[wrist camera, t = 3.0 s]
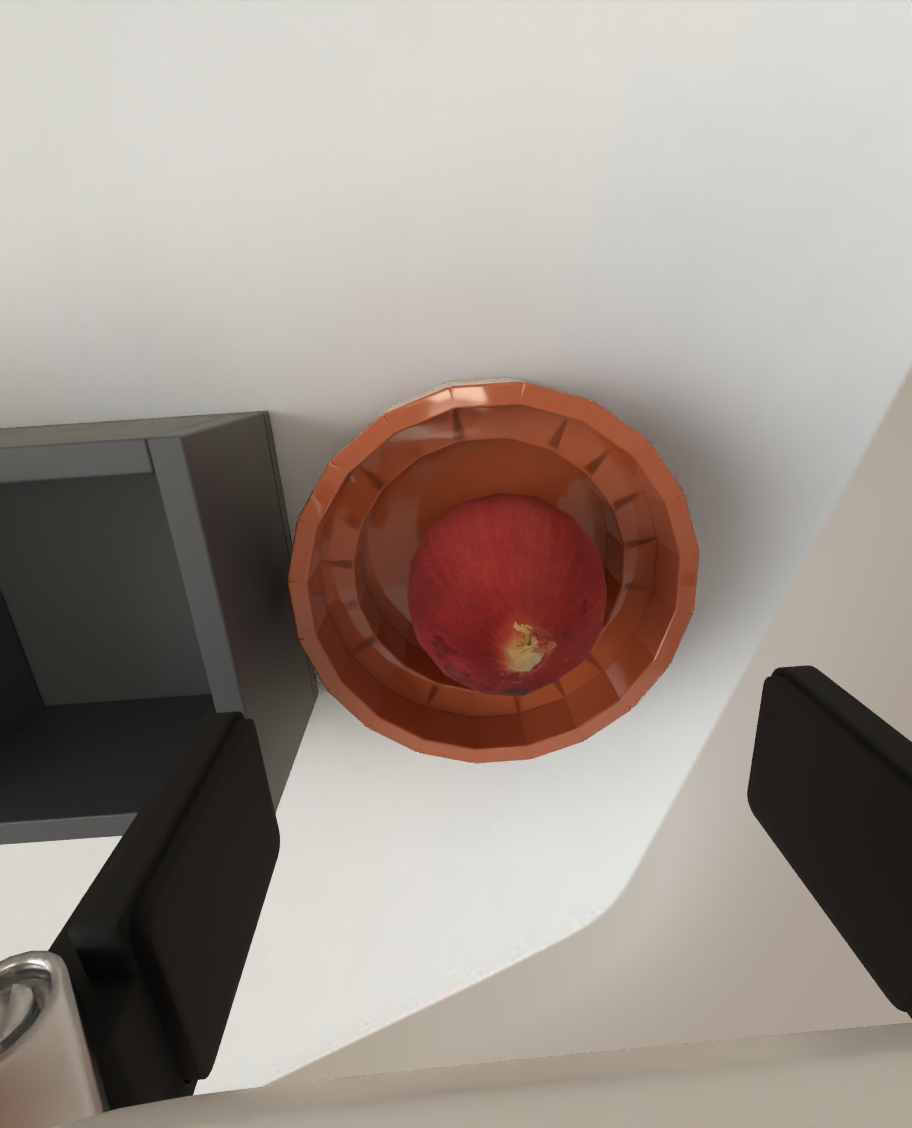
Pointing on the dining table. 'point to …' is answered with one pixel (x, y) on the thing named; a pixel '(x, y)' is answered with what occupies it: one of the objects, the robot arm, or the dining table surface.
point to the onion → (507, 594)
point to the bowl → (432, 490)
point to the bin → (138, 613)
